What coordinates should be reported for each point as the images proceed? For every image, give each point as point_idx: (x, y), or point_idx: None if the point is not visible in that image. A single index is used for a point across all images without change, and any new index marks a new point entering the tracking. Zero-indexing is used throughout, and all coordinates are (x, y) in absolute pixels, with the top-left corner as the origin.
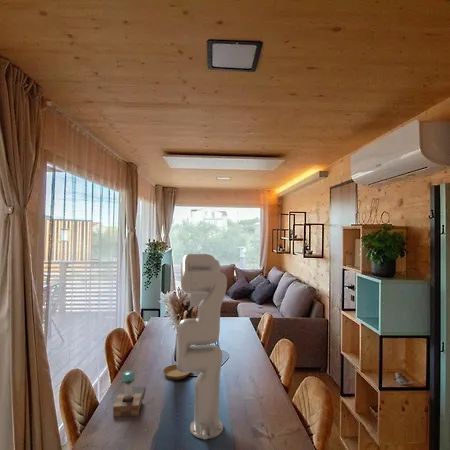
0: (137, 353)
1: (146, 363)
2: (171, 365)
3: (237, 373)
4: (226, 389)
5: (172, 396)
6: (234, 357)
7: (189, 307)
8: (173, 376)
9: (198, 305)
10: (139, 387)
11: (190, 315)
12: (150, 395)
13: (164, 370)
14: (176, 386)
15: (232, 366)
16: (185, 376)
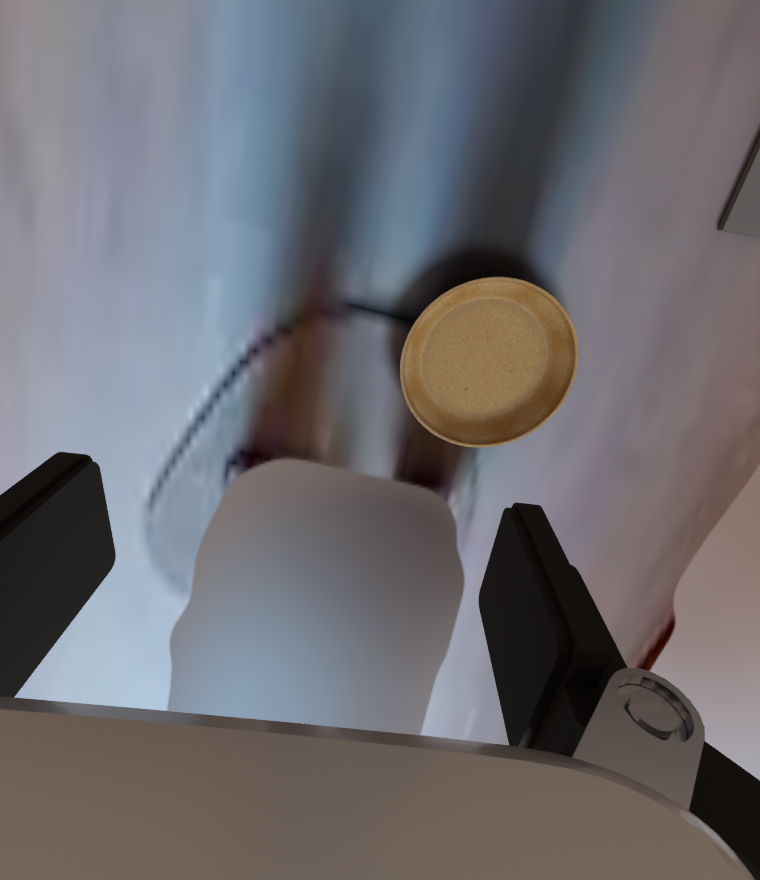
0: (615, 640)
1: (607, 531)
2: (504, 442)
3: (111, 282)
4: (208, 47)
5: (594, 43)
6: (116, 494)
7: (673, 776)
8: (534, 285)
9: (282, 799)
10: (758, 227)
11: (539, 536)
12: (723, 106)
13: (557, 397)
14: (528, 196)
15: (137, 386)
16: (448, 302)
